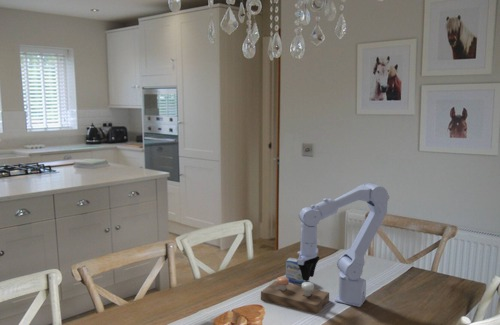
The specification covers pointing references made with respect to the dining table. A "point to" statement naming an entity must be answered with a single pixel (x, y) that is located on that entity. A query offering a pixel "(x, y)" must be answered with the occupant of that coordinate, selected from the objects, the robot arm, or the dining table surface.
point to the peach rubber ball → (282, 282)
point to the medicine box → (293, 271)
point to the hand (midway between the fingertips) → (308, 278)
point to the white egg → (307, 288)
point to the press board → (295, 297)
